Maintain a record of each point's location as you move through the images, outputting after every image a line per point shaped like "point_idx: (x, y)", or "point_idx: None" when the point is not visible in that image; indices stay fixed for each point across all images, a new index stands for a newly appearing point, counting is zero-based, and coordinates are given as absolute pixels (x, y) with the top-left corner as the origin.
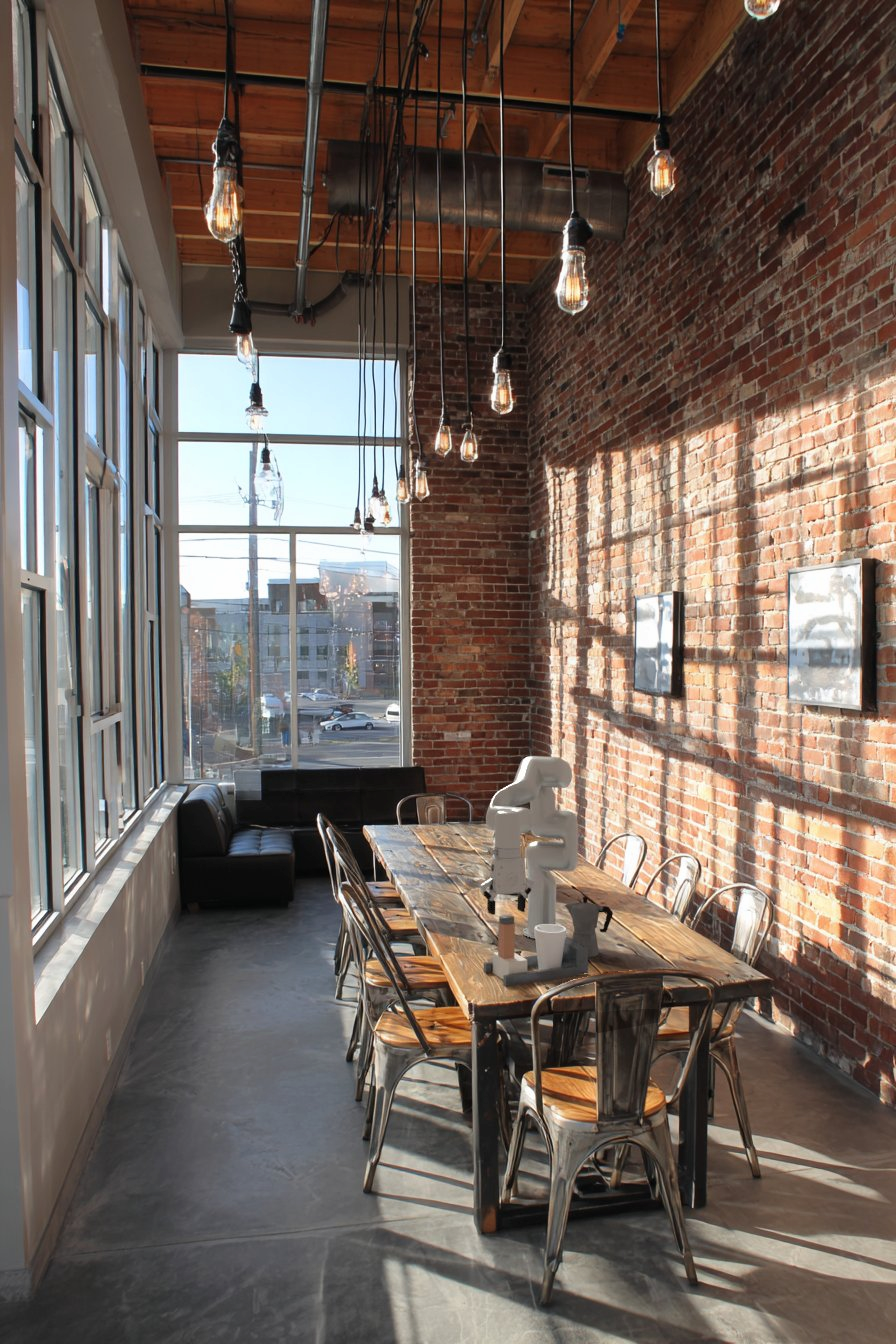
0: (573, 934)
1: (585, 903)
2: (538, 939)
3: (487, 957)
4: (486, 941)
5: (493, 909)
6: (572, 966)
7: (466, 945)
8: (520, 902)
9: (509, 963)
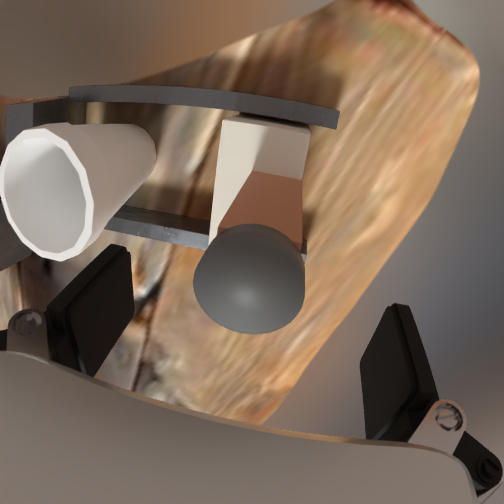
0: (2, 265)
1: None
2: (111, 183)
3: (215, 331)
4: (161, 390)
5: (415, 332)
6: (81, 93)
7: (212, 398)
8: (98, 318)
9: (308, 133)
